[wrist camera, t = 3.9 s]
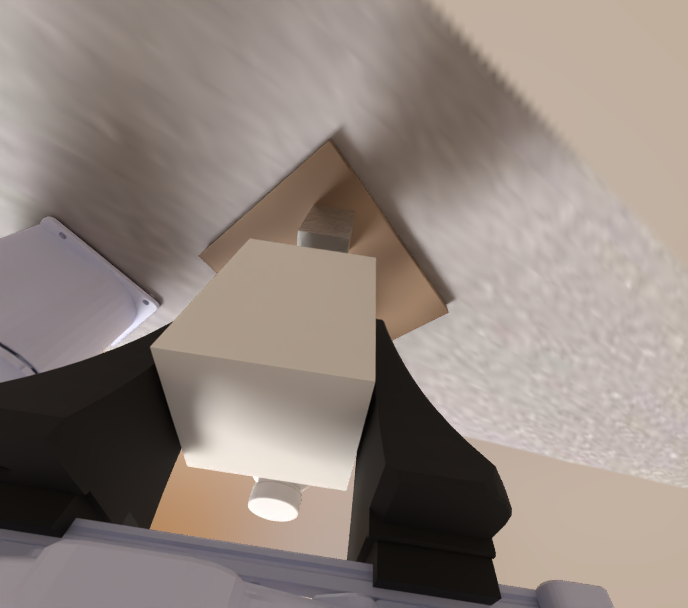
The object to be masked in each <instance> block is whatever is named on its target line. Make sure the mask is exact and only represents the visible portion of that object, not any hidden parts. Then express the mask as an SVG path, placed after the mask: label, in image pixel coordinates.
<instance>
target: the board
mask: <svg viewBox="0 0 688 608" xmlns="http://www.w3.org/2000/svg"><path fill="white" fill-rule="evenodd" d="M313 205H317V206H324V207H330V208H337V209H343V210H349V211H355V214H354V221H353V228H352V234H351V241H350V248H349V253H348V254H355V255H361V256H368V257H375V258H376V319H381V320H383V321H384V322H385V325H386V328H387V330H388V333H389V335H390V337H391V339H392V340H394V339H396V338H398V337H400V336H402V335H404V334H406V333H408V332H410V331H412V330H414V329H416V328H418V327H420V326H422V325H424V324H426V323H428V322H431V321H433V320H435V319H437V318H439V317H441V316H443V315H445V314H447V313H449V312H448V309H447V306H446V304H445V302H444V301H443V300H442V298H441V297H440V295H439V294H438V292H437V291H436V289H435V288H434V287H433V285H432V284H431V282H430V281H429V279H428V278H427V276H426V275H425V274H424V272H423V271H422V269H421V268H420V266H419V265H418V263H417V262H416V261H415V259H414V258H413V256H412V255H411V253H410V252H409V250H408V249H407V248H406V246H405V245H404V243H403V242H402V240H401V239H400V237H399V236H398V235H397V233H396V232H395V230H394V229H393V227H392V226H391V224H390V223H389V222H388V220H387V219H386V217H385V216H384V214H383V213H382V211H381V210H380V209H379V207H378V206H377V204H376V203H375V201H374V200H373V198H372V197H371V196H370V194H369V193H368V191H367V190H366V188H365V187H364V185H363V184H362V183H361V181H360V180H359V178H358V177H357V175H356V174H355V172H354V171H353V169H352V168H351V167H350V165H349V164H348V162H347V161H346V159H345V158H344V156H343V155H342V154H341V152H340V151H339V149H338V148H337V146H336V145H335V143H334V142H333V141H332V139H330V140H329V141H328V142H326V143H325V144H324V145H323V146H322V147H321V148H320V149H319V150H317V151H316V152H315V153H314V154H313V155H312V156H311V157H309V158H308V159H307V160H306V161H305V162H304V163H303V164H302V165H300V166H299V167H298V168H297V169H296V170H295V171H294V172H293V173H291V174H290V175H289V176H288V177H287V178H286V179H285V180H283V181H282V182H281V183H280V184H279V185H278V186H277V187H276V188H274V189H273V190H272V191H271V192H270V193H269V194H268V195H267V196H265V197H264V198H263V199H262V200H261V201H260V202H259V203H258V204H256V205H255V206H254V207H253V208H252V209H251V210H250V211H248V212H247V213H246V214H245V215H244V216H243V217H242V218H241V219H239V220H238V221H237V222H236V223H235V224H234V225H233V226H232V227H230V228H229V229H228V230H227V231H226V232H225V233H224V234H222V235H221V236H220V237H219V238H218V239H217V240H216V241H215V242H213V243H212V244H211V245H210V246H209V247H208V248H207V249H206V250H204V251H203V252H202V253H201V254H200V255H199V257H200V258H201V259H202V260H203V261H204V262H206V263H207V264H208V265H209V266H210V267H211V268H212V269H213V270H214V271H215V272H216V273H218V272H219V271H220V270H221V269H222V268H223V267H224V266H225V265H226V264H227V263H228V261H229V260H230V259H231V258H232V257H233V256H234V255H235V254H236V253H237V252H238V251H239V249H240V248H241V247H242V246H243V245H244V244H245V243H246V242H247V241H248V240H249V239H256V240H263V241H269V242H276V243H282V244H289V245H296V246H297V236H298V229H299V228H300V226H301V224H302V223H303V221H304V220H305V218H306V216H307V215H308V213H309V211H310V210H311V208H312V206H313Z"/></svg>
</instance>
